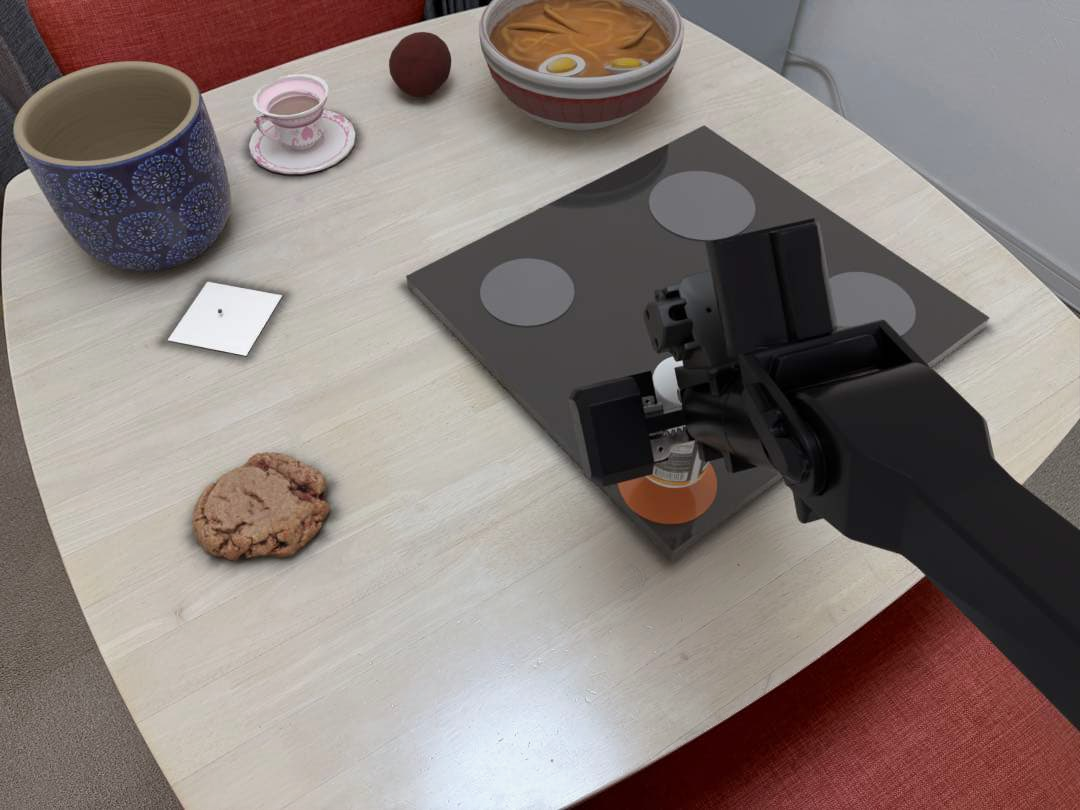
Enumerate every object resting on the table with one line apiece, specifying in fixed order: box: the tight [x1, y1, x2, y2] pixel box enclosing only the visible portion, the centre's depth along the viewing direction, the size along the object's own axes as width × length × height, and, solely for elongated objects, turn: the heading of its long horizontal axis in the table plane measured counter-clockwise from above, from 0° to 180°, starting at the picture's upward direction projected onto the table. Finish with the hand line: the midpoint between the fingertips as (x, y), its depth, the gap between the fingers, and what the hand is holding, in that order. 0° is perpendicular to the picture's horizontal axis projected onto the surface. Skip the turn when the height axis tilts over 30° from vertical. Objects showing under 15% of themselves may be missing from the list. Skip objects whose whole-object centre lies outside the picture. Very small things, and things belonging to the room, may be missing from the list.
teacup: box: [248, 73, 357, 175], centre depth 99 cm, size 12×12×6 cm
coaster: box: [167, 281, 283, 357], centre depth 84 cm, size 8×8×1 cm
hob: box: [405, 125, 991, 562], centre depth 85 cm, size 38×40×2 cm
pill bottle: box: [646, 357, 710, 488], centre depth 65 cm, size 6×6×10 cm
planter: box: [12, 60, 232, 272], centre depth 86 cm, size 17×17×15 cm
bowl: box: [478, 0, 685, 131], centre depth 102 cm, size 23×23×10 cm
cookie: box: [191, 451, 331, 561], centre depth 70 cm, size 10×11×3 cm
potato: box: [388, 31, 452, 99], centre depth 106 cm, size 7×8×7 cm
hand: (674, 394), depth 65 cm, fingers closed on pill bottle, 6 cm apart
